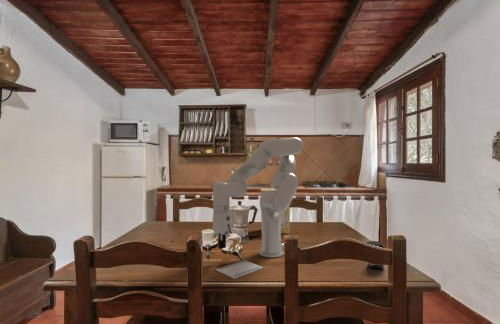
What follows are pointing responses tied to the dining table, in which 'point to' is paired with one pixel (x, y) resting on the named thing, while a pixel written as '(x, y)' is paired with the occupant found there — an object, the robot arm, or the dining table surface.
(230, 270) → the mat
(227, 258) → the figurine
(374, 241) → the supplement container
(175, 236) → the dining table surface
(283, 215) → the pasta box
